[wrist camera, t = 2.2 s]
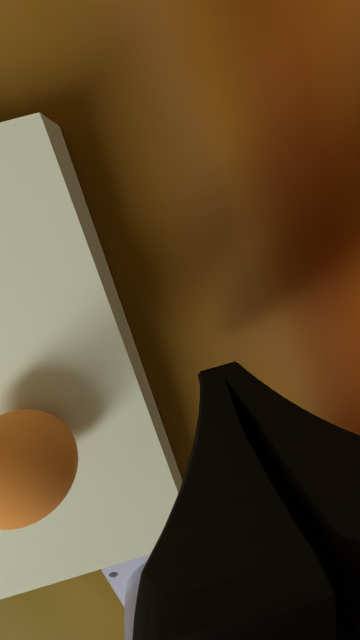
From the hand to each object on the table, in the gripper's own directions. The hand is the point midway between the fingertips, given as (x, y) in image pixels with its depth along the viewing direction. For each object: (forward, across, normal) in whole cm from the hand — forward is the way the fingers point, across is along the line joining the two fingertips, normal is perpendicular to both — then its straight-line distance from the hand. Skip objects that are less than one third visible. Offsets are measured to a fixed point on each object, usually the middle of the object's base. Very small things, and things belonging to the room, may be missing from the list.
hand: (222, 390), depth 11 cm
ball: (-1, +7, 0) cm, 7 cm away
